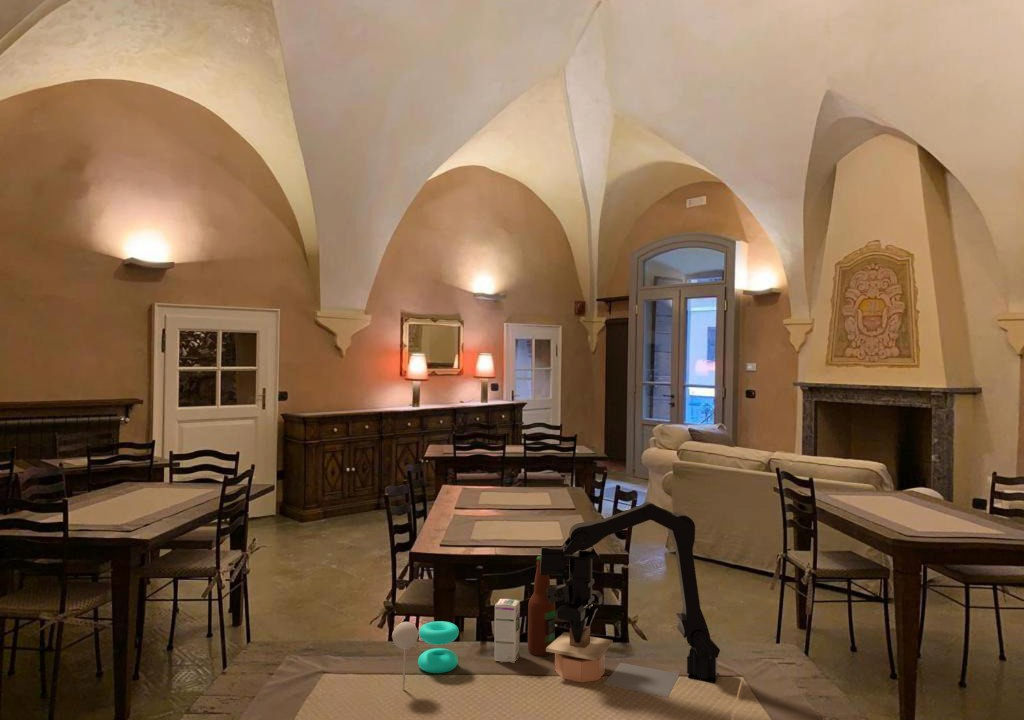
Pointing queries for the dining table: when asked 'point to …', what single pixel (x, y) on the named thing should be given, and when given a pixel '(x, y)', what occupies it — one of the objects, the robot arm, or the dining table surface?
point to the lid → (580, 645)
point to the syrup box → (507, 630)
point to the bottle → (540, 616)
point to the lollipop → (405, 639)
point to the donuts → (438, 657)
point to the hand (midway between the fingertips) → (580, 640)
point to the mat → (642, 679)
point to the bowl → (579, 668)
